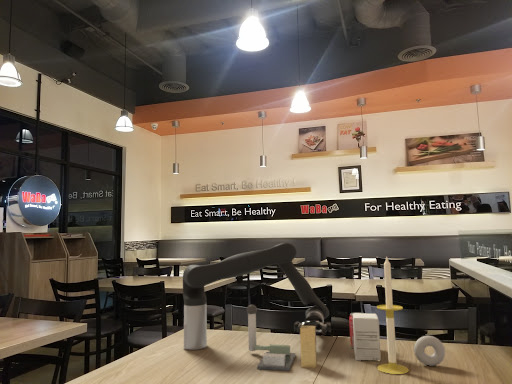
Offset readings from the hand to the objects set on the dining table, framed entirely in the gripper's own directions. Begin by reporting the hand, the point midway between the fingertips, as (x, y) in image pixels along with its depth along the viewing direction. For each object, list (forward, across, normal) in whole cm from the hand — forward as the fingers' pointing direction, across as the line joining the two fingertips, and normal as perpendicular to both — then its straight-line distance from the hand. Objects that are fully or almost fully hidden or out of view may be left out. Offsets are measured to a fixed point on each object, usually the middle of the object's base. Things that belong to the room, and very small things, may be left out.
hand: (311, 331), depth 148 cm
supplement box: (-1, +20, +9) cm, 22 cm away
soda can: (-13, +18, +9) cm, 24 cm away
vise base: (+9, -12, +9) cm, 17 cm away
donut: (+5, +40, +9) cm, 42 cm away
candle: (+11, +28, +9) cm, 31 cm away
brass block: (+11, 0, +9) cm, 14 cm away
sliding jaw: (+2, -16, +8) cm, 18 cm away
